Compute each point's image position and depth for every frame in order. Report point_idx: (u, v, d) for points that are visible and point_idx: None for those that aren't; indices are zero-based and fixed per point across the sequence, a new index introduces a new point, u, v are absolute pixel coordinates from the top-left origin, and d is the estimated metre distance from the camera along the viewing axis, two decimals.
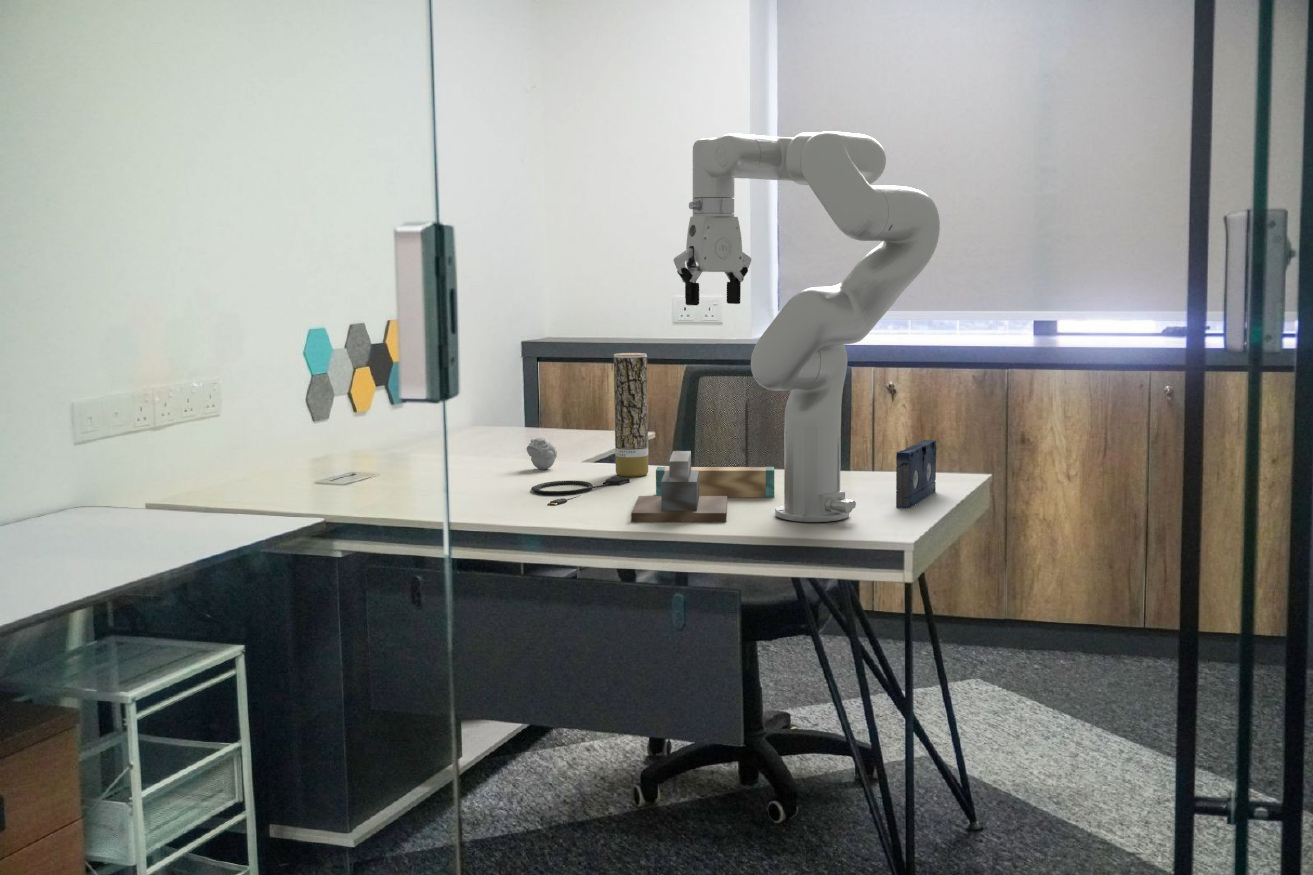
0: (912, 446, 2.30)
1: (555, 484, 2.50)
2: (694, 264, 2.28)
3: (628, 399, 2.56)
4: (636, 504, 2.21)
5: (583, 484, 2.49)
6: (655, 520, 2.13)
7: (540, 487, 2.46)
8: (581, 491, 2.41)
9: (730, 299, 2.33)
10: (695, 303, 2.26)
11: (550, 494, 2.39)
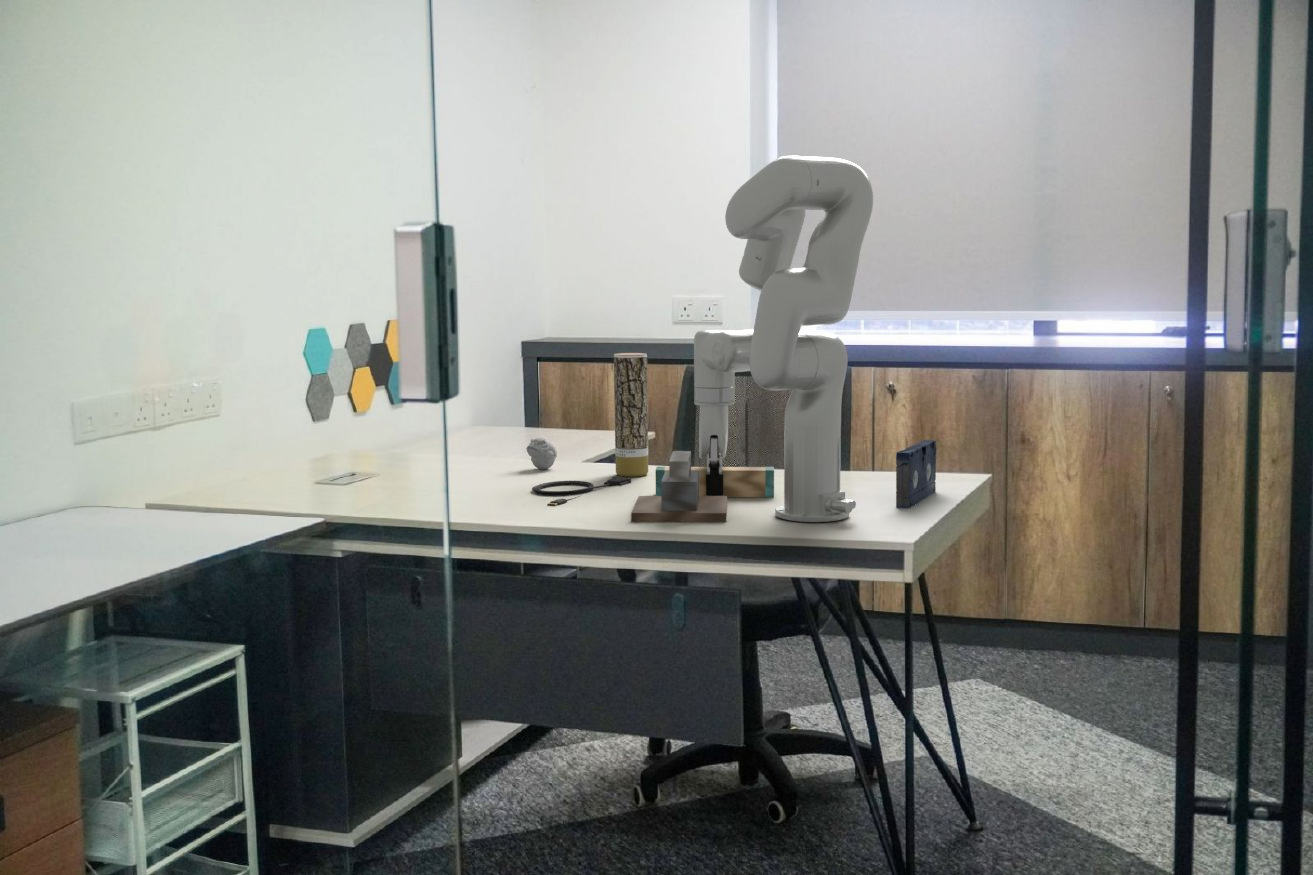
0: (912, 446, 2.30)
1: (556, 484, 2.50)
2: None
3: (628, 399, 2.56)
4: (636, 504, 2.21)
5: (584, 484, 2.49)
6: (655, 520, 2.13)
7: (541, 487, 2.46)
8: (582, 491, 2.41)
9: None
10: None
11: (551, 495, 2.39)
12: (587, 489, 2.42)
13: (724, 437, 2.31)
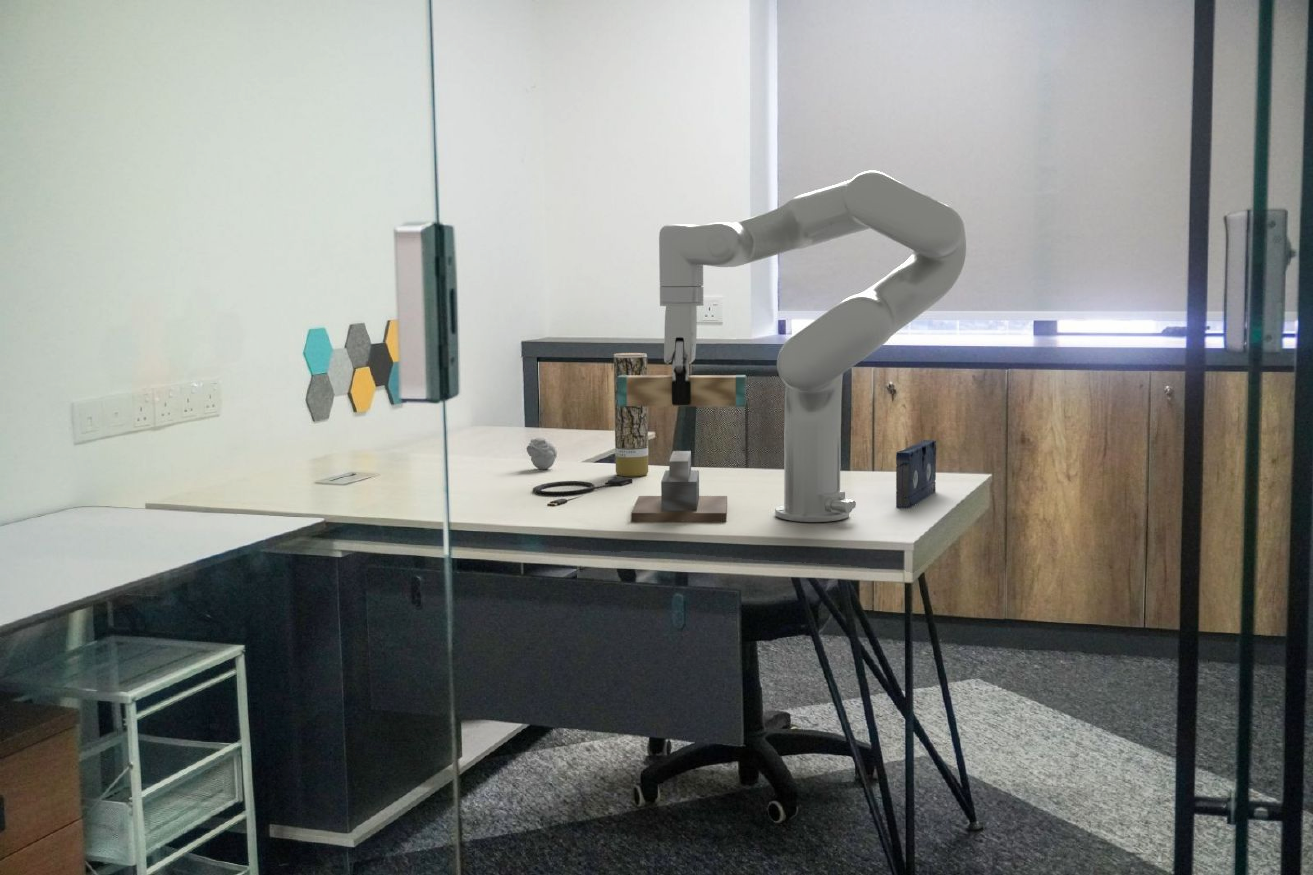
0: (912, 446, 2.30)
1: (557, 485, 2.49)
2: None
3: None
4: (636, 504, 2.21)
5: (585, 484, 2.49)
6: (655, 520, 2.13)
7: (542, 487, 2.46)
8: (582, 491, 2.41)
9: None
10: None
11: (551, 495, 2.39)
12: (588, 489, 2.42)
13: (690, 340, 2.13)
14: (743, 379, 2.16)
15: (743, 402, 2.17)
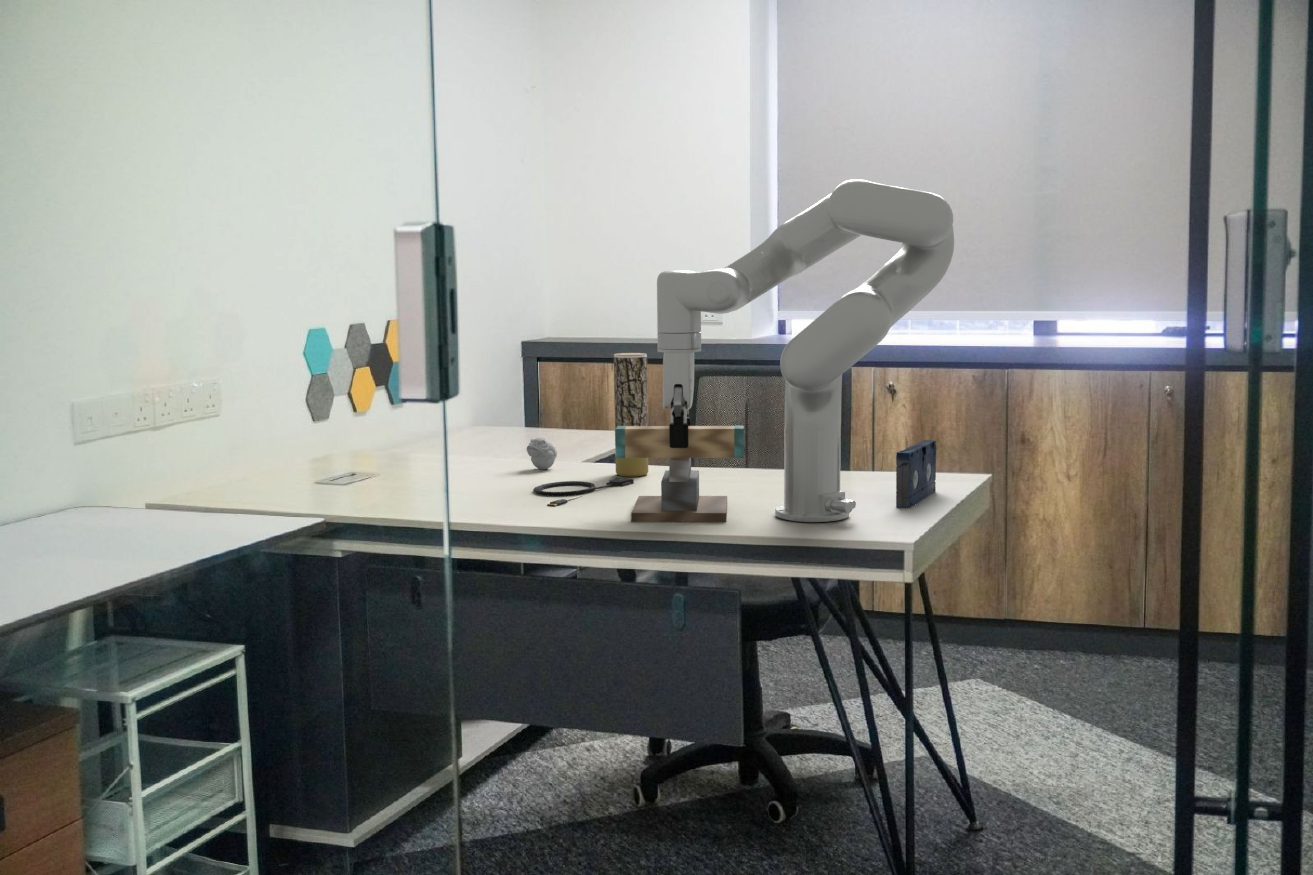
0: (912, 446, 2.30)
1: (558, 485, 2.49)
2: None
3: (628, 399, 2.56)
4: (636, 504, 2.21)
5: (586, 485, 2.48)
6: (655, 520, 2.13)
7: (543, 488, 2.46)
8: (583, 492, 2.40)
9: None
10: None
11: (551, 495, 2.38)
12: (588, 490, 2.41)
13: (689, 386, 2.13)
14: (742, 430, 2.16)
15: (742, 453, 2.17)
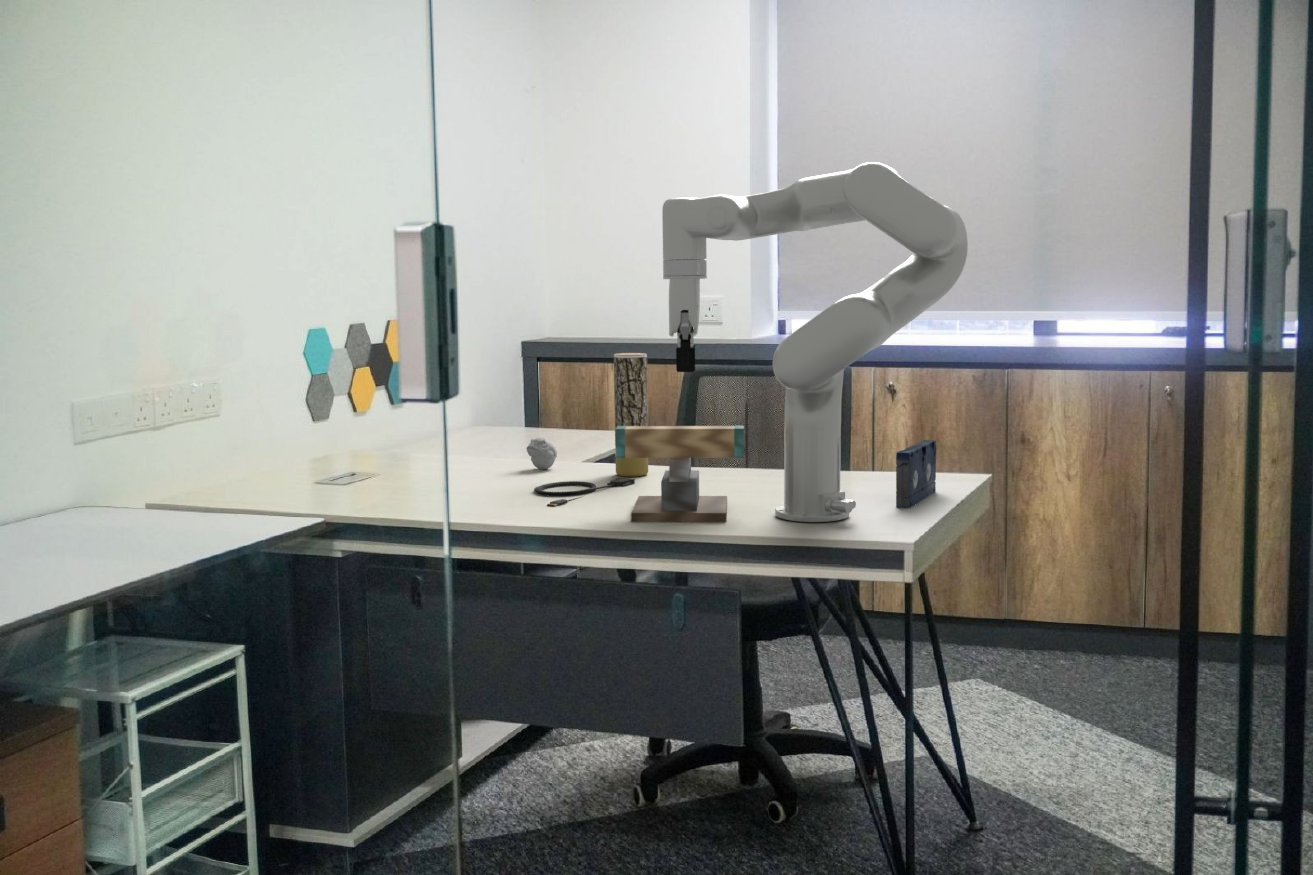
0: (912, 446, 2.30)
1: (559, 485, 2.49)
2: None
3: (628, 399, 2.56)
4: (636, 504, 2.21)
5: (587, 485, 2.48)
6: (655, 520, 2.13)
7: (543, 488, 2.46)
8: (583, 492, 2.40)
9: None
10: None
11: (552, 495, 2.38)
12: (589, 490, 2.41)
13: (696, 312, 2.15)
14: (742, 430, 2.16)
15: (742, 453, 2.17)
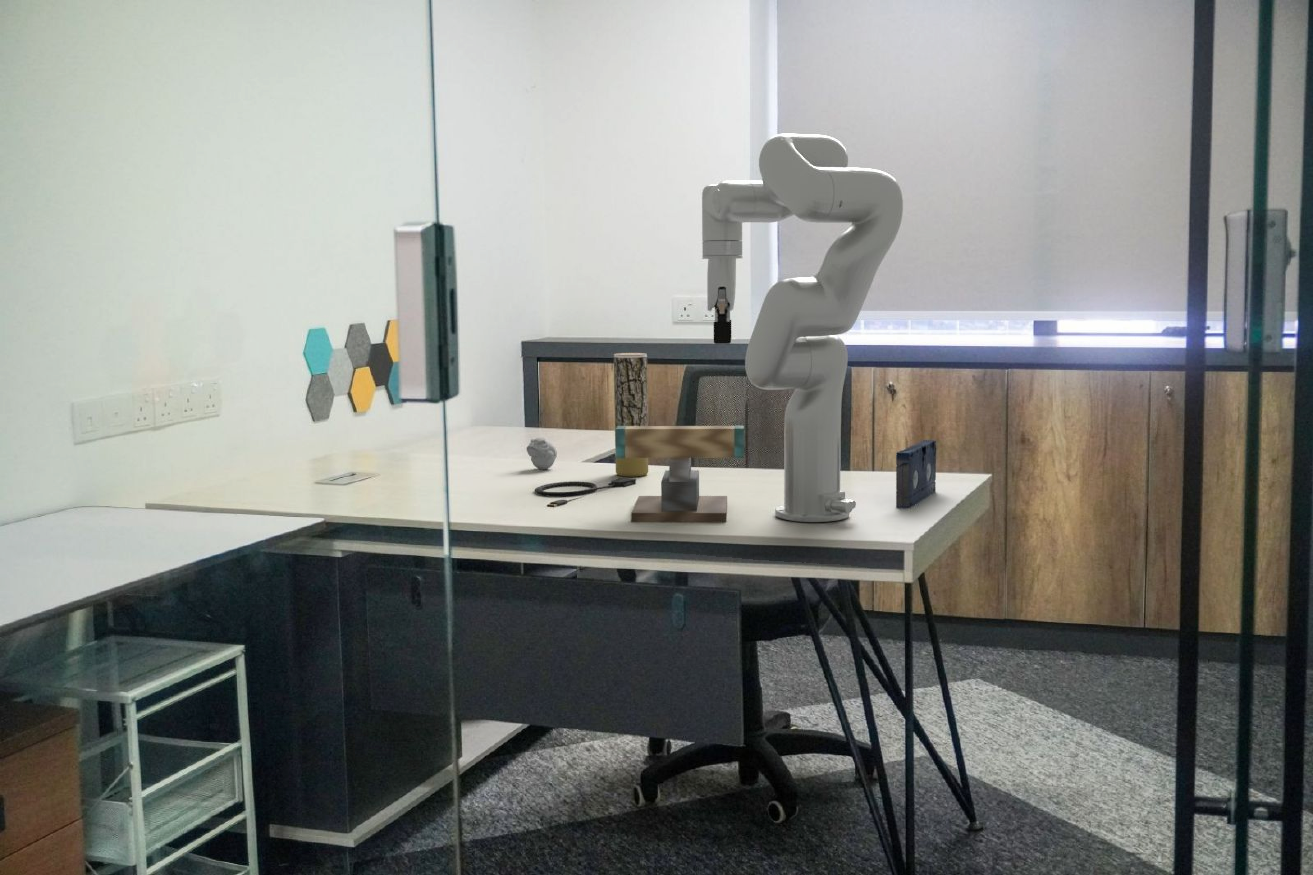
0: (912, 446, 2.30)
1: (560, 485, 2.49)
2: (728, 303, 2.43)
3: (628, 399, 2.56)
4: (636, 504, 2.21)
5: (588, 485, 2.48)
6: (655, 520, 2.13)
7: (544, 488, 2.45)
8: (584, 492, 2.40)
9: None
10: None
11: (552, 495, 2.38)
12: (589, 490, 2.41)
13: (732, 289, 2.34)
14: (742, 430, 2.16)
15: (742, 453, 2.17)
